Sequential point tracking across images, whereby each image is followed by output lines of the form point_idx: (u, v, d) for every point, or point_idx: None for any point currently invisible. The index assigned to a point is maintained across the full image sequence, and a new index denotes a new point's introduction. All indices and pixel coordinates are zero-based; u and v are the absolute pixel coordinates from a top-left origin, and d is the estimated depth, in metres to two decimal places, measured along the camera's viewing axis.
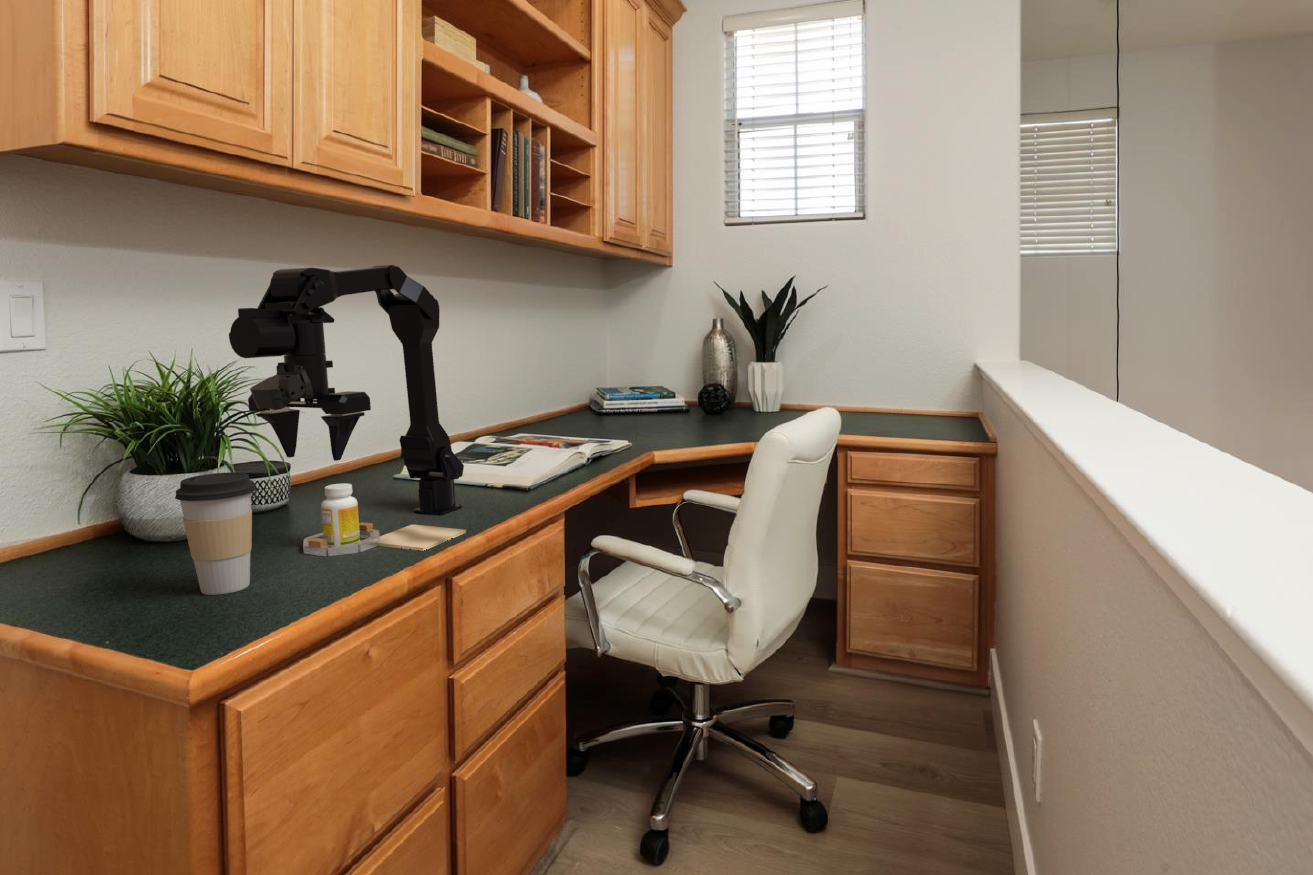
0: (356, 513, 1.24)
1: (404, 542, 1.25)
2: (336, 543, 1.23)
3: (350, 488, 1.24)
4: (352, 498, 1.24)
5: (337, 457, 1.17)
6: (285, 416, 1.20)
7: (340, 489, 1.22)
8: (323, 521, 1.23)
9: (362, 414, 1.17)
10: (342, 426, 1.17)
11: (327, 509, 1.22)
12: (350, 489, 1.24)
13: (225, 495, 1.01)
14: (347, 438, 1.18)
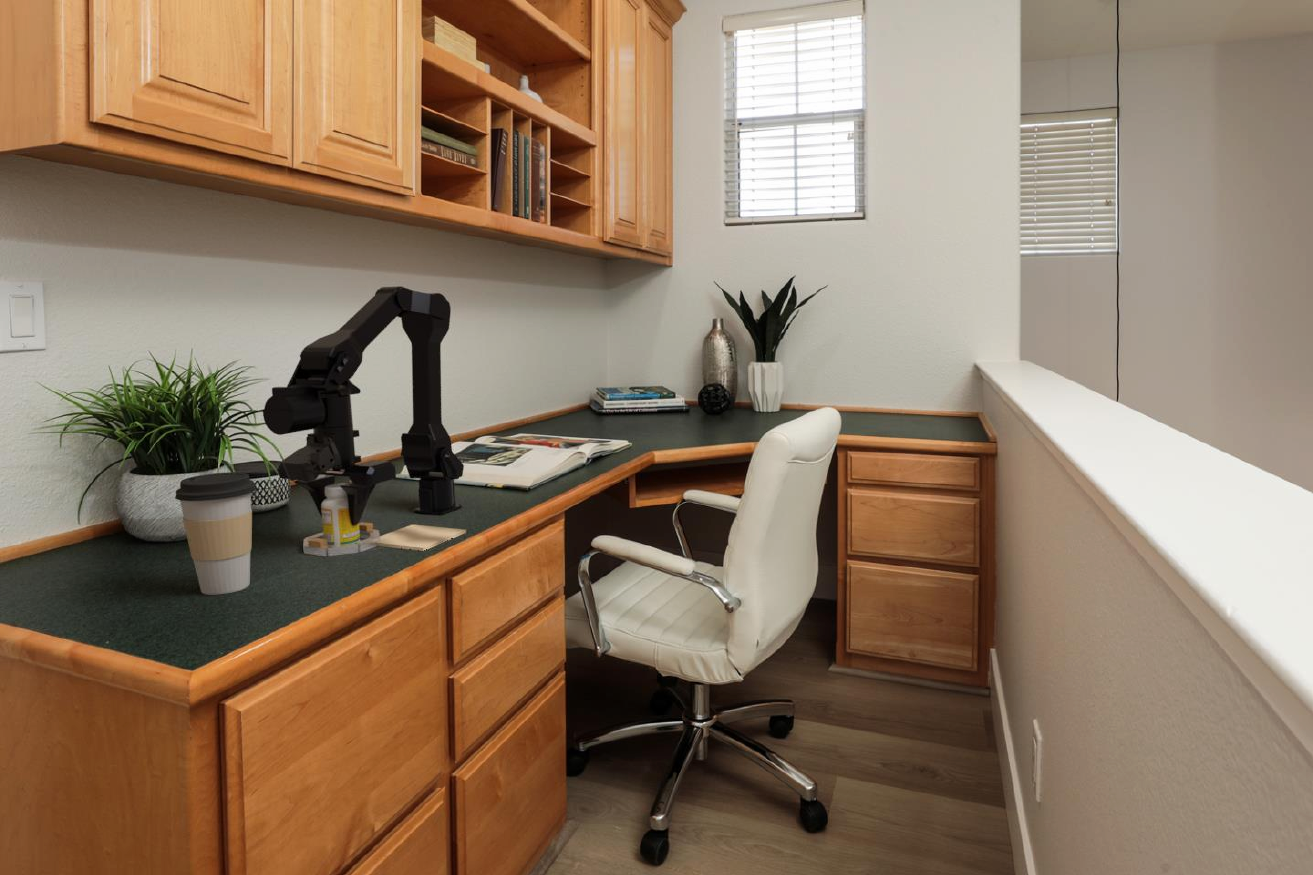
0: None
1: (404, 542, 1.25)
2: (336, 543, 1.23)
3: None
4: None
5: (355, 522, 1.23)
6: (322, 483, 1.25)
7: (340, 489, 1.22)
8: (323, 521, 1.23)
9: None
10: (360, 493, 1.23)
11: (327, 509, 1.22)
12: None
13: (225, 495, 1.01)
14: (364, 504, 1.24)
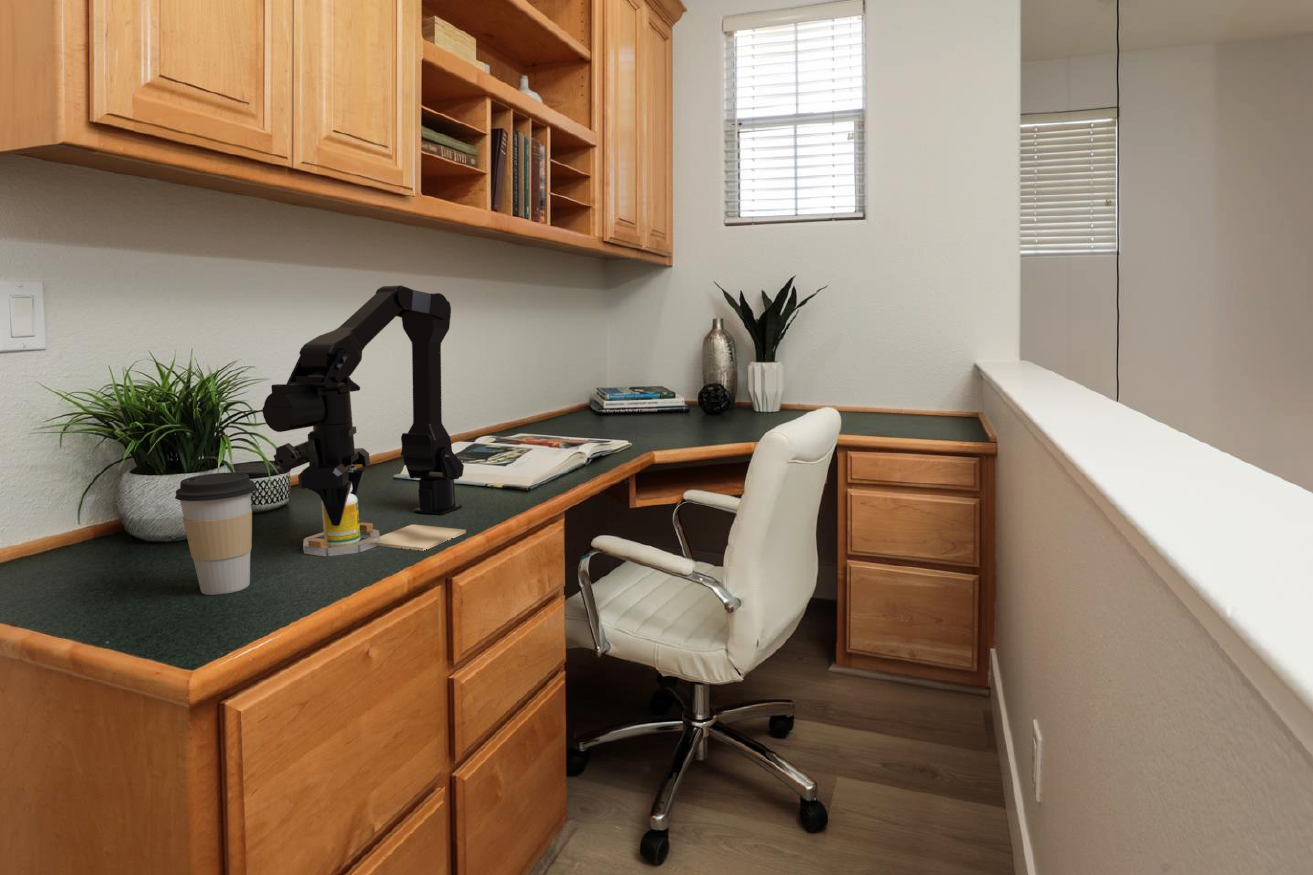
0: (343, 514, 1.22)
1: (404, 542, 1.25)
2: None
3: None
4: None
5: (333, 522, 1.22)
6: None
7: None
8: None
9: (341, 487, 1.18)
10: (333, 494, 1.20)
11: (321, 504, 1.24)
12: None
13: (225, 495, 1.01)
14: (341, 506, 1.21)
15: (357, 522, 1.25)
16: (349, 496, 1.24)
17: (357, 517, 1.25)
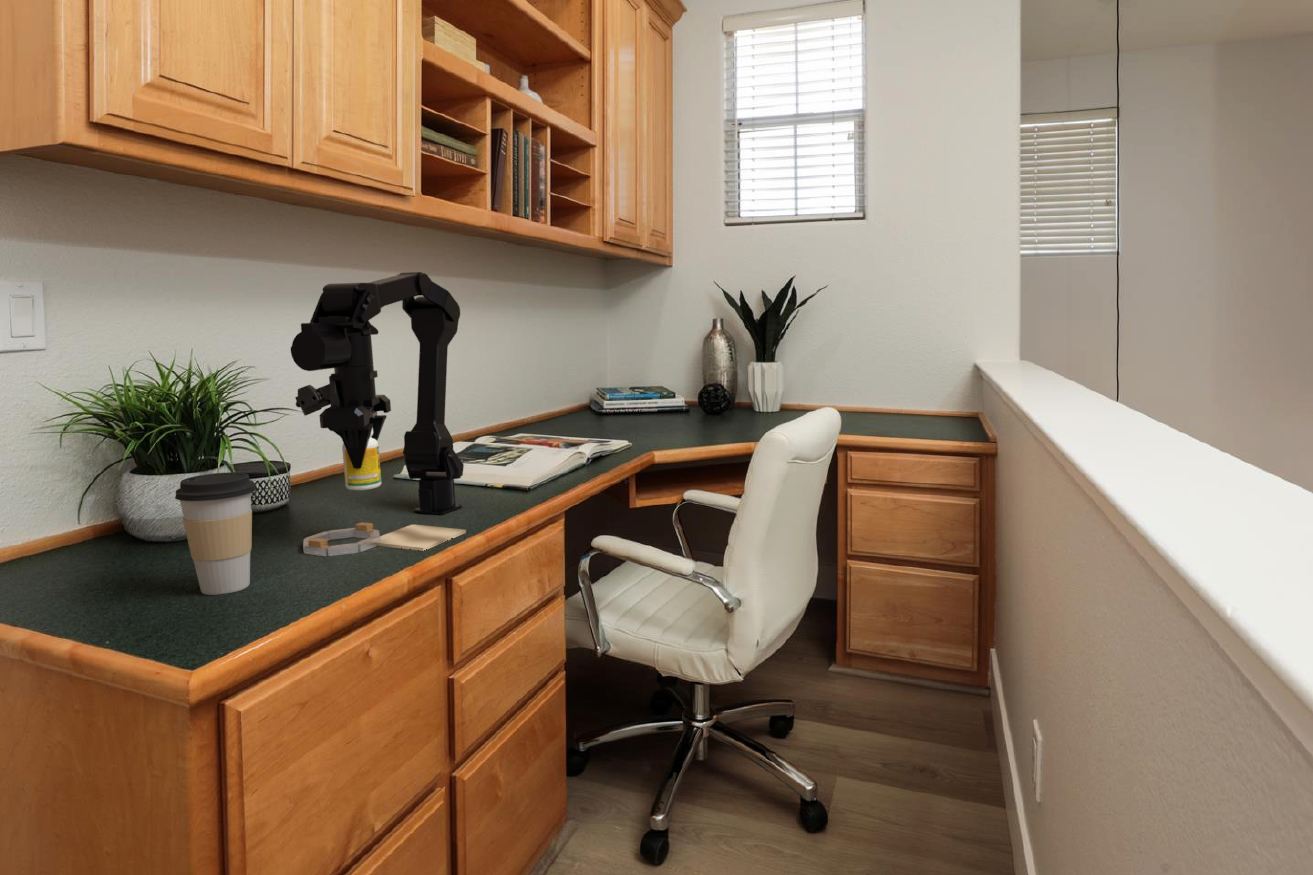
0: (364, 457, 1.22)
1: (404, 542, 1.25)
2: (346, 482, 1.23)
3: None
4: None
5: (355, 465, 1.21)
6: None
7: None
8: None
9: (362, 428, 1.18)
10: (355, 437, 1.20)
11: (342, 448, 1.23)
12: None
13: (225, 495, 1.01)
14: (362, 449, 1.20)
15: (378, 466, 1.24)
16: (370, 440, 1.23)
17: (378, 461, 1.24)
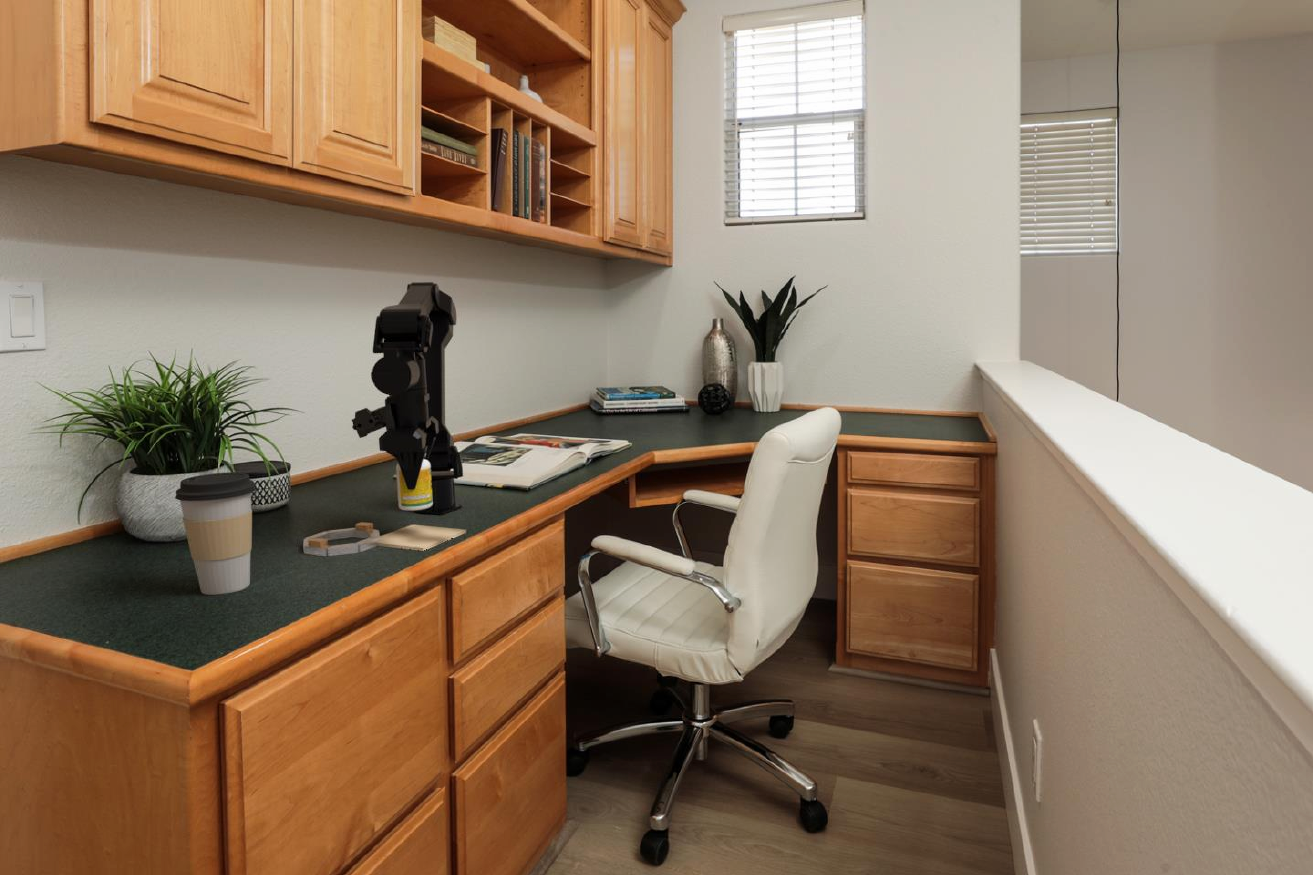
0: (418, 478, 1.25)
1: (404, 542, 1.25)
2: (399, 503, 1.26)
3: None
4: None
5: (409, 486, 1.24)
6: None
7: None
8: None
9: (418, 450, 1.20)
10: (410, 458, 1.23)
11: None
12: None
13: (225, 495, 1.01)
14: (416, 470, 1.23)
15: (430, 487, 1.27)
16: (423, 461, 1.26)
17: (430, 482, 1.27)
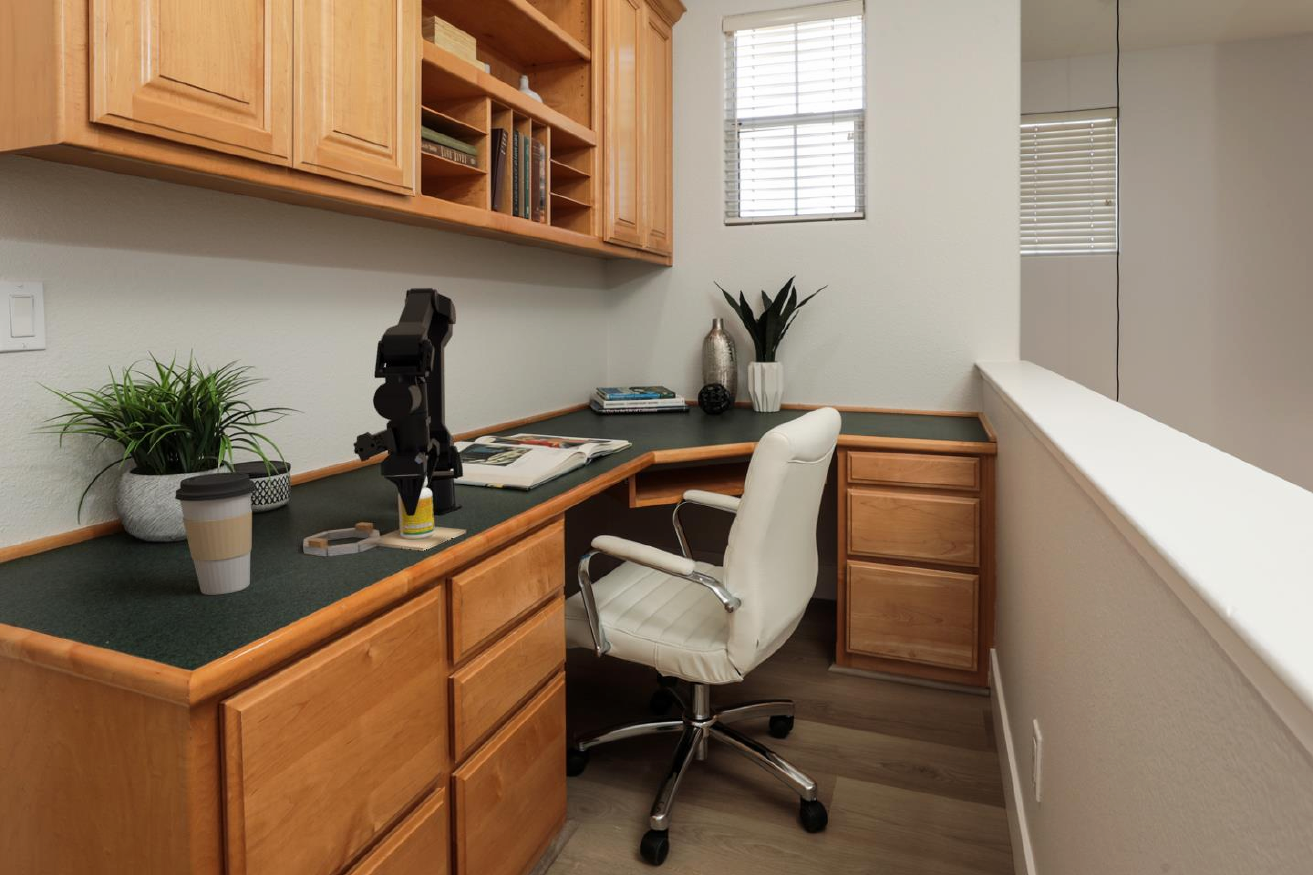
0: (420, 507, 1.25)
1: (404, 542, 1.25)
2: (401, 531, 1.27)
3: None
4: None
5: (408, 512, 1.23)
6: None
7: None
8: None
9: (418, 477, 1.19)
10: (409, 485, 1.21)
11: None
12: None
13: (225, 495, 1.01)
14: (416, 496, 1.22)
15: (432, 515, 1.28)
16: (425, 490, 1.27)
17: (432, 510, 1.28)
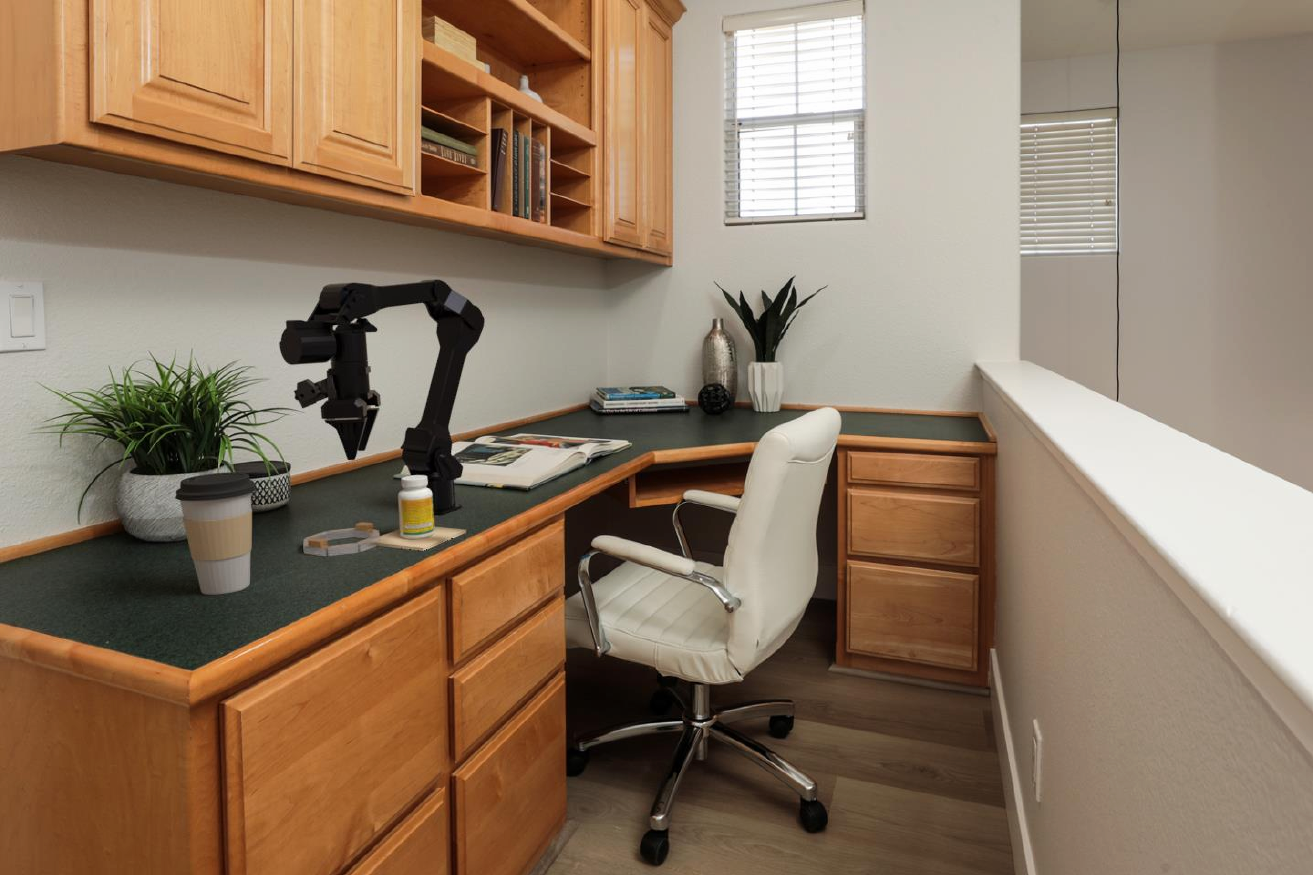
0: (420, 507, 1.25)
1: (404, 542, 1.25)
2: (401, 531, 1.27)
3: (417, 481, 1.25)
4: (420, 492, 1.26)
5: (349, 457, 1.27)
6: None
7: (405, 480, 1.25)
8: None
9: (358, 420, 1.23)
10: (350, 429, 1.25)
11: (398, 498, 1.27)
12: (417, 482, 1.25)
13: (225, 495, 1.01)
14: (356, 441, 1.26)
15: (432, 515, 1.28)
16: (425, 490, 1.27)
17: (432, 510, 1.28)
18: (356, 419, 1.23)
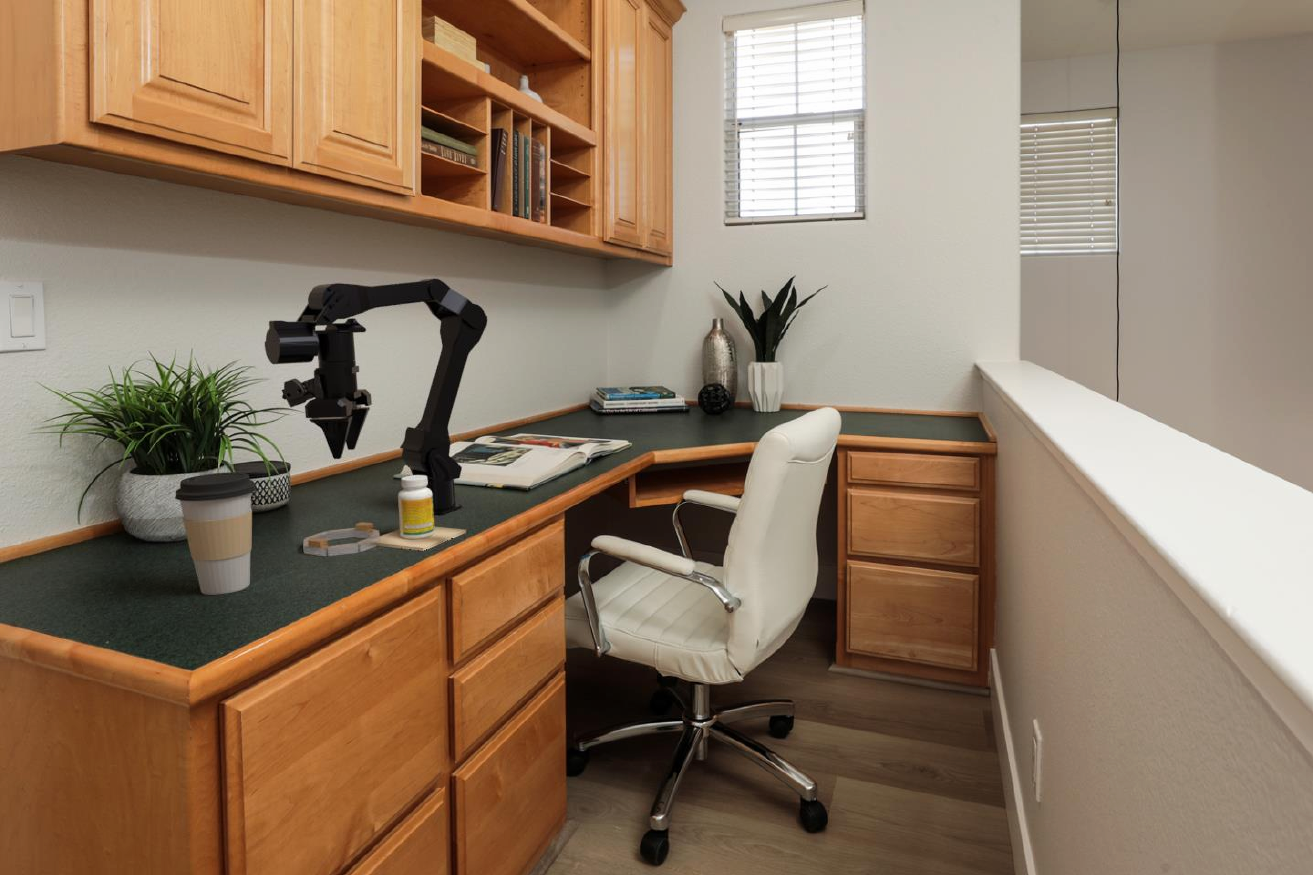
0: (420, 507, 1.25)
1: (404, 542, 1.25)
2: (401, 531, 1.27)
3: (417, 481, 1.25)
4: (420, 492, 1.26)
5: (335, 456, 1.28)
6: None
7: (405, 481, 1.25)
8: None
9: (342, 420, 1.24)
10: (335, 428, 1.27)
11: (398, 498, 1.27)
12: (417, 482, 1.25)
13: (225, 495, 1.01)
14: (341, 440, 1.27)
15: (432, 515, 1.28)
16: (425, 490, 1.27)
17: (432, 510, 1.28)
18: (340, 418, 1.24)
